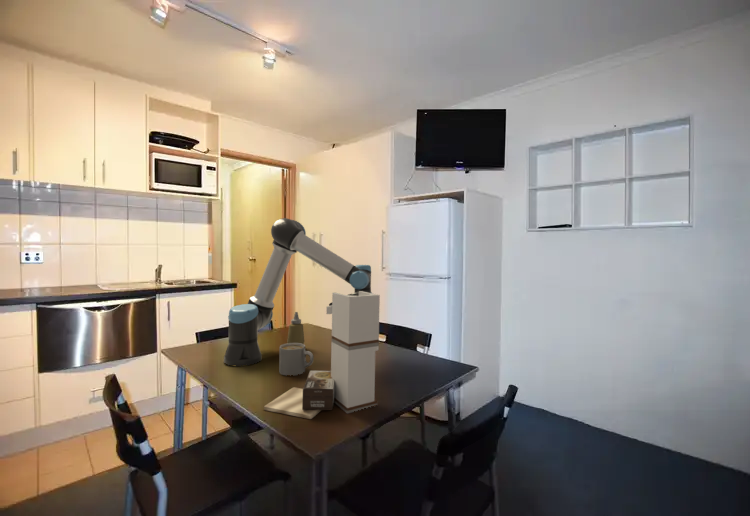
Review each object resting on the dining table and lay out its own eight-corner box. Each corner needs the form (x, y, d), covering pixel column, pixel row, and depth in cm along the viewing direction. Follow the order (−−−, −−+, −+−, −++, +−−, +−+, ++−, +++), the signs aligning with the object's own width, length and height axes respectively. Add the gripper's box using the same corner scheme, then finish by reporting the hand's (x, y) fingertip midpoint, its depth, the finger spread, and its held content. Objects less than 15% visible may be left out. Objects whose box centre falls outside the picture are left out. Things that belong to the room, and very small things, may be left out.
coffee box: (309, 388, 119) (301, 410, 102) (310, 369, 119) (301, 388, 102) (336, 389, 119) (332, 410, 103) (337, 370, 119) (333, 389, 103)
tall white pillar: (377, 406, 109) (379, 295, 109) (347, 414, 104) (349, 296, 103) (358, 393, 119) (361, 291, 118) (330, 400, 113) (332, 292, 112)
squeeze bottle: (284, 351, 166) (284, 313, 165) (291, 346, 174) (291, 310, 173) (300, 352, 164) (301, 314, 164) (306, 347, 172) (307, 311, 172)
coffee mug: (273, 373, 136) (274, 347, 135) (288, 365, 145) (288, 341, 145) (304, 378, 131) (304, 351, 131) (317, 370, 140) (317, 345, 140)
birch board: (263, 409, 105) (263, 406, 105) (293, 390, 120) (293, 387, 120) (311, 419, 100) (311, 415, 100) (335, 397, 115) (335, 394, 115)
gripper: (368, 311, 149) (344, 321, 127) (340, 309, 153) (312, 319, 131) (368, 293, 149) (344, 301, 126) (340, 292, 153) (312, 299, 131)
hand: (328, 310), depth 129 cm, fingers closed
